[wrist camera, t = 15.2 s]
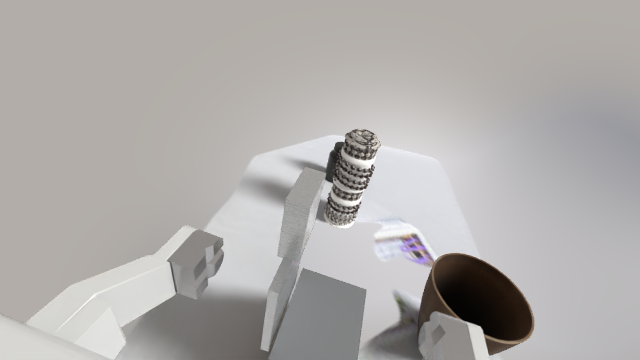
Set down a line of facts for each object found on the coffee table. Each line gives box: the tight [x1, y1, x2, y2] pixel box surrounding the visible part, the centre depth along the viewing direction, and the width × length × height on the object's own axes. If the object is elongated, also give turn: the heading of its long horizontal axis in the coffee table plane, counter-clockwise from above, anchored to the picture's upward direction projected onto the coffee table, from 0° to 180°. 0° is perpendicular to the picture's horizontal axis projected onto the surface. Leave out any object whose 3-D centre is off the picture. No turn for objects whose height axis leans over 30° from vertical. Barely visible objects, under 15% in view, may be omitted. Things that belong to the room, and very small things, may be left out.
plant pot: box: [418, 253, 534, 356], centre depth 46 cm, size 15×15×16 cm
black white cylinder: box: [324, 129, 381, 228], centre depth 67 cm, size 9×9×25 cm
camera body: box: [268, 268, 366, 360], centre depth 40 cm, size 16×10×14 cm, turn 165°
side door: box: [261, 167, 326, 352], centre depth 31 cm, size 10×2×20 cm, turn 165°
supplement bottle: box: [325, 142, 344, 183], centre depth 86 cm, size 7×7×12 cm
